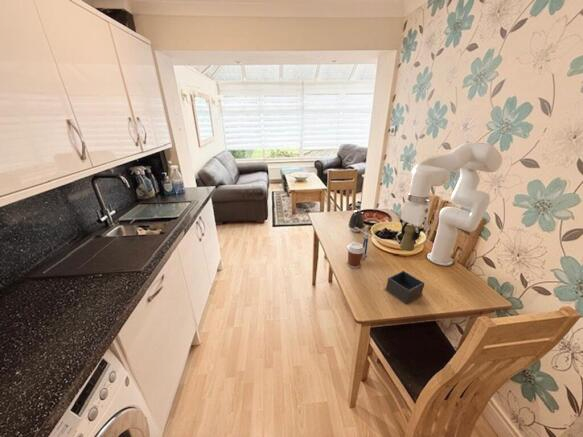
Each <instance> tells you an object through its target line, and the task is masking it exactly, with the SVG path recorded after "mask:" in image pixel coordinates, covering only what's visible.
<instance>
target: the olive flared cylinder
mask: <svg viewBox="0 0 583 437" xmlns="http://www.w3.org/2000/svg"><path fill="white" fill-rule="evenodd" d="M404 230H405V234H404V235H402V239H401V241H400V244H399V248H400V249H401V250H403V251H406V252H413V251H415V241H416V240H413V235H414V232H416V229H415V225H412V224H407V226H406V227H405V229H404Z"/></svg>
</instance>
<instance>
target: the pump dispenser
mask: <svg viewBox="0 0 583 437" xmlns="http://www.w3.org/2000/svg"><path fill="white" fill-rule="evenodd" d="M364 214H366V212H365V211H363V212H361V211H360V210H354V211H353V212H352V214H351V216H350V217H349V219H348V220H349V221H348V228H349V230H350V231H351V232H353V233H359V232H361V231H360V230H362V231H363V228H364V218H363V215H364ZM355 227H357V228H356V229H355ZM358 228H359V229H360V230H358Z"/></svg>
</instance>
